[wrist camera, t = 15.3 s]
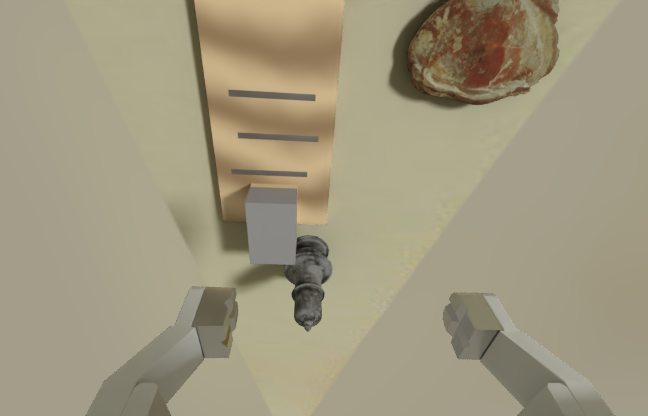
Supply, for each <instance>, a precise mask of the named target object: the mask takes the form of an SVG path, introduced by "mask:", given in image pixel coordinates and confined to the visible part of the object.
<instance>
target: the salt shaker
mask: <svg viewBox="0 0 648 416" xmlns="http://www.w3.org/2000/svg"><path fill="white" fill-rule="evenodd" d="M328 251H329V250H328V246H327V244H326V243H325V242H324V241H323V240H322V239H320V238H318V237H315V236H301V237H299V238H297V243H296V260H295V265H285V267H284V273H285V276H286V278H287V279H288V280H289V281H290V282H291V283H293V284H294V285H295V288H294V289H293V291H292V298H293V300H294V301H295V309H294V318H295V321H296V322H297V323H298V324H299V325H300V326H303V327H305V329H306V331H309V330H310V329H311V327H313V326H315V325H317V324H318V323H319V322H320V320H321V317H322V307H321V301H322V300H323V298H324V290H323V289H322V288H321V285H322V284H323V283H325V282H326V281H327V280H328V279H329V278H330V277H331V274H332V265H331V262H330V261H329V260H328V258H327V256H328Z"/></svg>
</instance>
